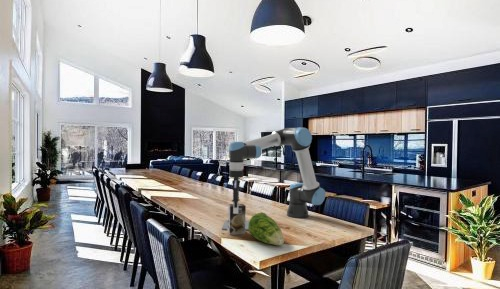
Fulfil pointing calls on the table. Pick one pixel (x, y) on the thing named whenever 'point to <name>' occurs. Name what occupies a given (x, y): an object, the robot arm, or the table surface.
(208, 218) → the table surface
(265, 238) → the lettuce
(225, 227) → the mat
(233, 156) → the robot arm
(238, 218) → the coffee box
